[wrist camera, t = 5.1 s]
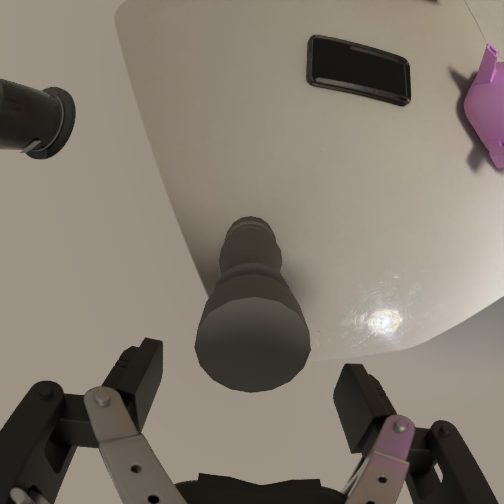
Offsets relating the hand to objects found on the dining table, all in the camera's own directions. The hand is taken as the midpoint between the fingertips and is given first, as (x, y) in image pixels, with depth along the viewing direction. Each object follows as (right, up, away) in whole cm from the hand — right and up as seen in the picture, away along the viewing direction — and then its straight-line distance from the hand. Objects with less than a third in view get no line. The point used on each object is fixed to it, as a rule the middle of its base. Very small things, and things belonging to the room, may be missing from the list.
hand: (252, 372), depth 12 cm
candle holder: (0, +7, +26) cm, 27 cm away
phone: (+15, +30, +20) cm, 39 cm away
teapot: (+41, +28, +21) cm, 54 cm away
